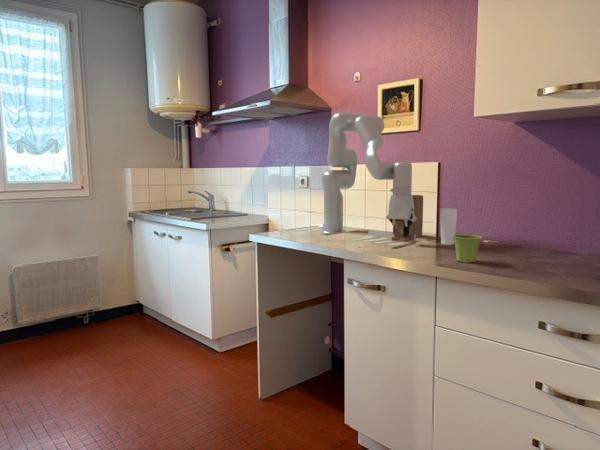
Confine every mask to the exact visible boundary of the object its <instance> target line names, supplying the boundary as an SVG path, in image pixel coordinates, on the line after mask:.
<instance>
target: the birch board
mask: <svg viewBox="0 0 600 450" xmlns="http://www.w3.org/2000/svg"><path fill="white" fill-rule="evenodd" d="M367 232H368V233H367V234H368V235H366V236H361V237H357V238H351V239H349V240H350V241H356V242H357V241H358V242H365V243H373V244H381V245H382V244H383V245H388V246H389V245H391V246H393V247H391V249H395V250H397V249H402V248H406V247H410V246H414V245H416V244H417V242H416V240H417V237H416V235H414V234H409V235H408V237H410V241H406V242H401V241H392V237H394V233H393V231H392V232H391V231H380V230H371V229H370V230H368V231H367Z"/></svg>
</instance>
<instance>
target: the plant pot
mask: <svg viewBox="0 0 600 450" xmlns="http://www.w3.org/2000/svg"><path fill="white" fill-rule="evenodd" d="M452 237H454V247H455V257H456V261H457V262H461V263H467V264H469V263H476V262H477V257H478V251H479V246H480V243H481V239H483V237H482V236H480V235H475V234H474V235H473V234H455V235H453V236H452Z"/></svg>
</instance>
